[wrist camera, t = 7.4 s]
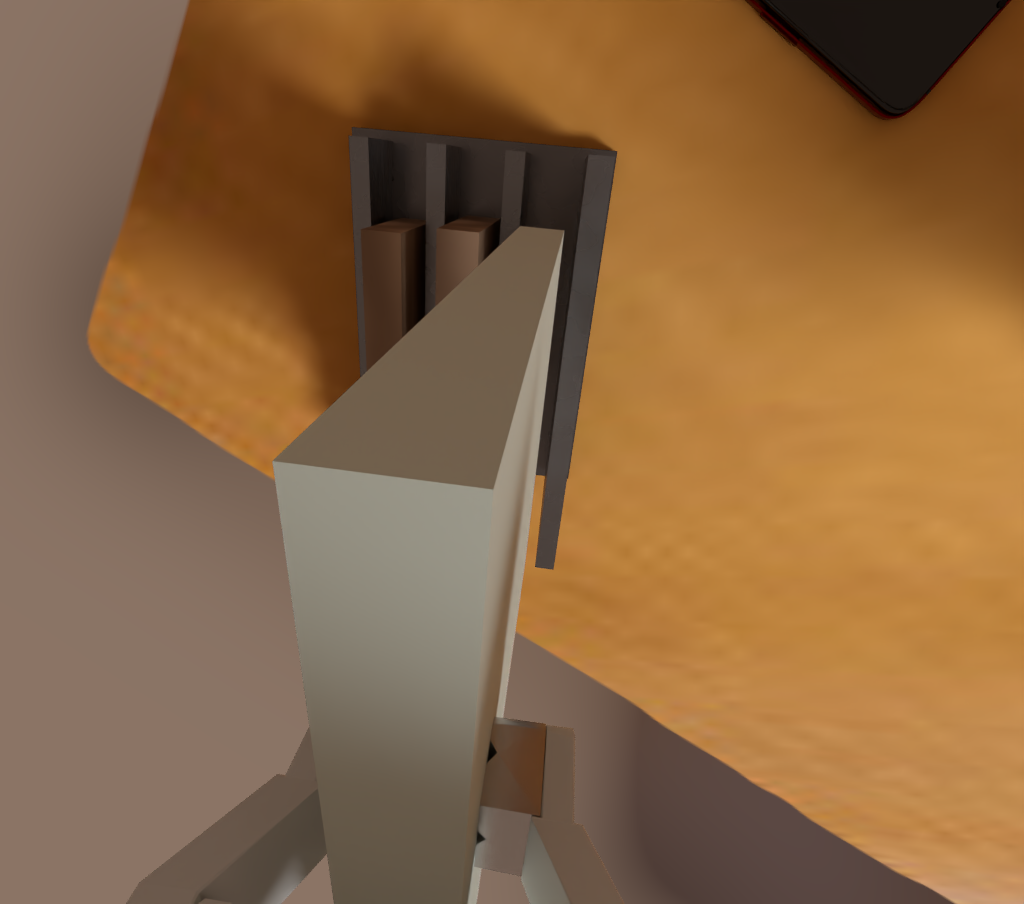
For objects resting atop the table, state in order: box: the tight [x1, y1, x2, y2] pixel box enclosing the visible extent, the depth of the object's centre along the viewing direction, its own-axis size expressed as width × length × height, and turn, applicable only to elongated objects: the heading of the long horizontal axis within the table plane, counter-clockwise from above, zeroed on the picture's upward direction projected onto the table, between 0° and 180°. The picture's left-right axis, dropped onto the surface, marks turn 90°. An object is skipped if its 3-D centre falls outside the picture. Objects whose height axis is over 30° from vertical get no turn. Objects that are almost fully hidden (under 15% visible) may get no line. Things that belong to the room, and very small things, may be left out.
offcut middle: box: [435, 215, 501, 306], centre depth 32 cm, size 2×13×8 cm, turn 175°
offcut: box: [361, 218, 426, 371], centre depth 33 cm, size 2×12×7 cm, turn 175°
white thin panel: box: [273, 226, 564, 904], centre depth 15 cm, size 2×15×18 cm, turn 176°
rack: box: [349, 127, 617, 569], centre depth 31 cm, size 15×21×12 cm
